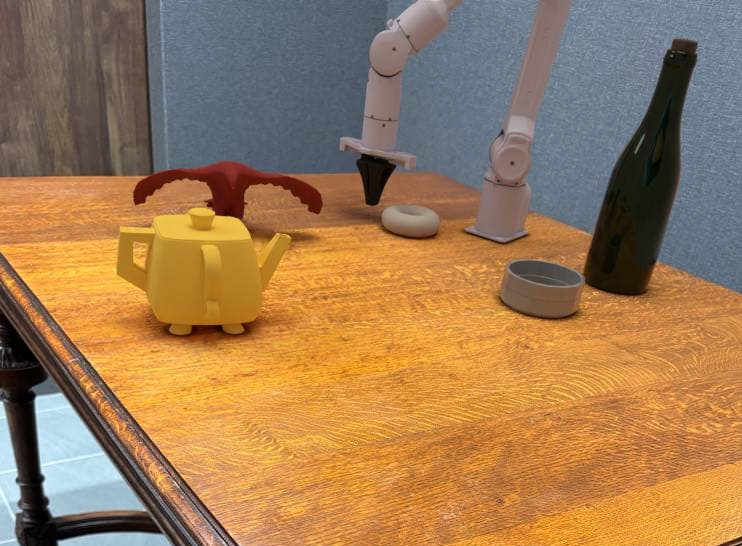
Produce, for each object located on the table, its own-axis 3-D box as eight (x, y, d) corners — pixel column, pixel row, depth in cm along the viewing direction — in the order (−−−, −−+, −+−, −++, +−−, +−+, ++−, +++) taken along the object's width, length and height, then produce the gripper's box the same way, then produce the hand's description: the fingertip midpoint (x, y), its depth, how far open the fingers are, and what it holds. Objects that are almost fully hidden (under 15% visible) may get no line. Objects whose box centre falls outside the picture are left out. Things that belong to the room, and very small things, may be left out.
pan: (521, 283, 122) (527, 253, 119) (589, 306, 117) (597, 276, 115) (484, 301, 114) (491, 269, 111) (556, 326, 110) (564, 293, 107)
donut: (437, 244, 133) (439, 226, 141) (440, 223, 131) (442, 205, 139) (377, 235, 134) (383, 218, 142) (380, 214, 131) (385, 197, 139)
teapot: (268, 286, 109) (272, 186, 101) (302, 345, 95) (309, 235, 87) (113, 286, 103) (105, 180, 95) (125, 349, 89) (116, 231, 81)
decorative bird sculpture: (136, 250, 127) (132, 195, 112) (133, 196, 128) (129, 135, 114) (313, 257, 134) (331, 206, 120) (309, 205, 135) (325, 149, 121)
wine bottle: (568, 278, 126) (632, 31, 107) (602, 267, 133) (669, 33, 113) (626, 300, 121) (705, 45, 101) (659, 288, 128) (739, 46, 108)
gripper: (331, 109, 132) (324, 197, 140) (404, 129, 126) (393, 219, 134) (357, 107, 137) (349, 191, 145) (428, 125, 131) (416, 212, 139)
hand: (371, 204), depth 140 cm, fingers closed
